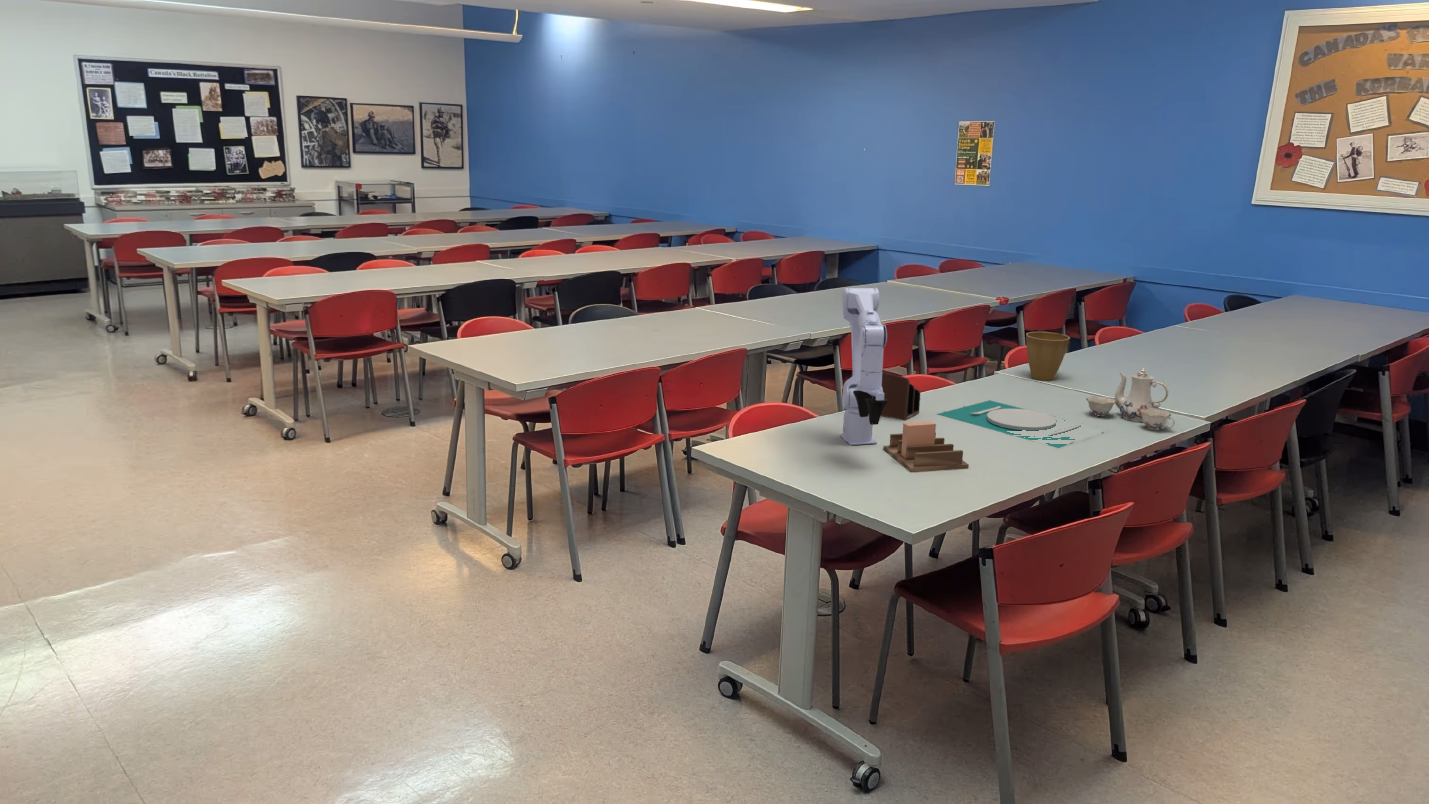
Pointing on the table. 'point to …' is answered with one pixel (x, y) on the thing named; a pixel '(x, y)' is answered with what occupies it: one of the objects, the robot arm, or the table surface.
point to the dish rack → (926, 455)
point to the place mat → (1008, 419)
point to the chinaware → (1134, 402)
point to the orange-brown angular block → (917, 434)
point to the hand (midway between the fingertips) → (868, 420)
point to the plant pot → (1045, 353)
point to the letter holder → (899, 397)
